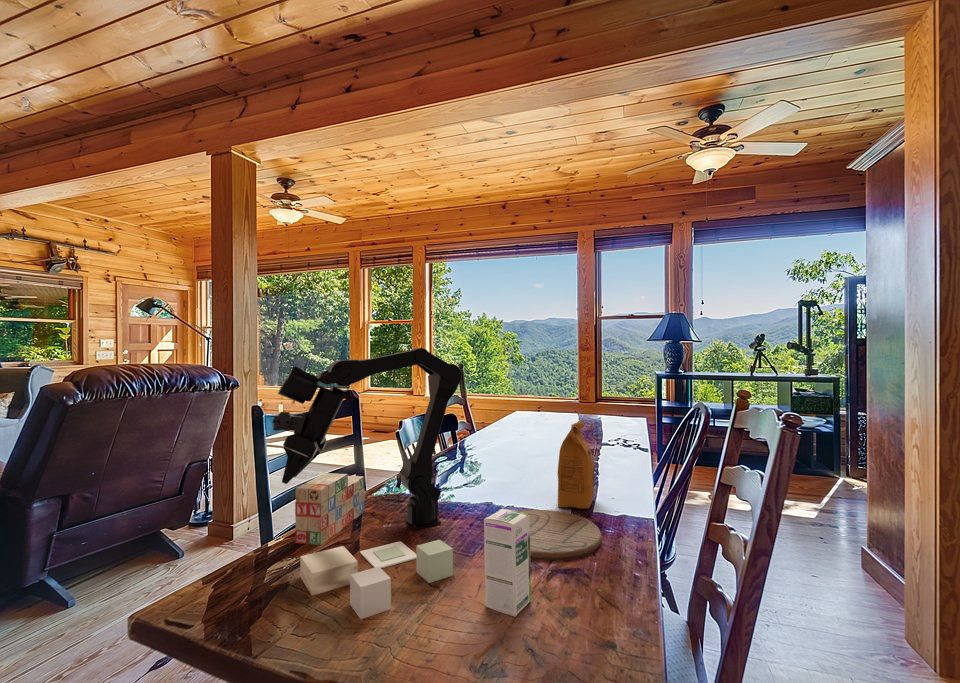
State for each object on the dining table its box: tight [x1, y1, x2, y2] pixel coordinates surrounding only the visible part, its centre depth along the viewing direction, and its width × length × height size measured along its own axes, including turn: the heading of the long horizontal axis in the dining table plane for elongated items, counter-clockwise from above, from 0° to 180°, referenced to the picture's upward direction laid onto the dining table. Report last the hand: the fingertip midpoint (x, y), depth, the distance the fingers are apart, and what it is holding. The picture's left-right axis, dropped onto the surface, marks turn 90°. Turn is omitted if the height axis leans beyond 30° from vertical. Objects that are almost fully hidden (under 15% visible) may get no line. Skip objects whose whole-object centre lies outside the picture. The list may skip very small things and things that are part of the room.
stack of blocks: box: [294, 472, 366, 546], centre depth 109 cm, size 21×6×12 cm, turn 169°
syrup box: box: [483, 508, 532, 618], centre depth 75 cm, size 6×6×14 cm
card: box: [359, 540, 416, 569], centre depth 93 cm, size 9×9×1 cm
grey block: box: [349, 567, 392, 620], centre depth 75 cm, size 5×5×5 cm
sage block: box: [415, 539, 454, 584], centre depth 86 cm, size 5×5×5 cm
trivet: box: [519, 509, 602, 561], centre depth 104 cm, size 25×25×2 cm
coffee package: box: [557, 420, 596, 510], centre depth 125 cm, size 10×12×22 cm
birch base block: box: [299, 545, 359, 596], centre depth 84 cm, size 8×8×4 cm
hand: (288, 479), depth 99 cm, fingers open, 9 cm apart
